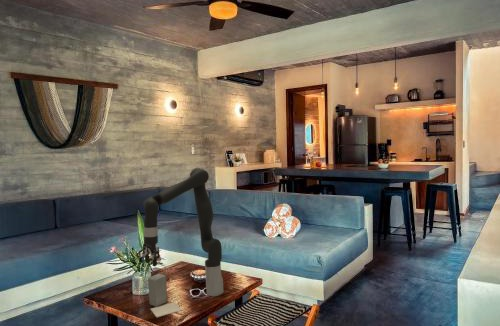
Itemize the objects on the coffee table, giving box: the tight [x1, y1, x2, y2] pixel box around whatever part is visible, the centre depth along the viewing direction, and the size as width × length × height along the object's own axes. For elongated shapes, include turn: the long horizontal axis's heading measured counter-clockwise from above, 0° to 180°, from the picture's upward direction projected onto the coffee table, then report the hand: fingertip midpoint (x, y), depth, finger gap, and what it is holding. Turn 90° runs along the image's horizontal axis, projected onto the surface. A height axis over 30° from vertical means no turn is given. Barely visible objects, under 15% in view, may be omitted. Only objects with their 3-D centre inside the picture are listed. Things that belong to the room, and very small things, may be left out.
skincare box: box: [147, 273, 168, 308], centre depth 216 cm, size 8×7×16 cm
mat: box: [150, 302, 183, 318], centre depth 208 cm, size 14×12×1 cm
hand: (150, 264), depth 210 cm, fingers open, 8 cm apart
